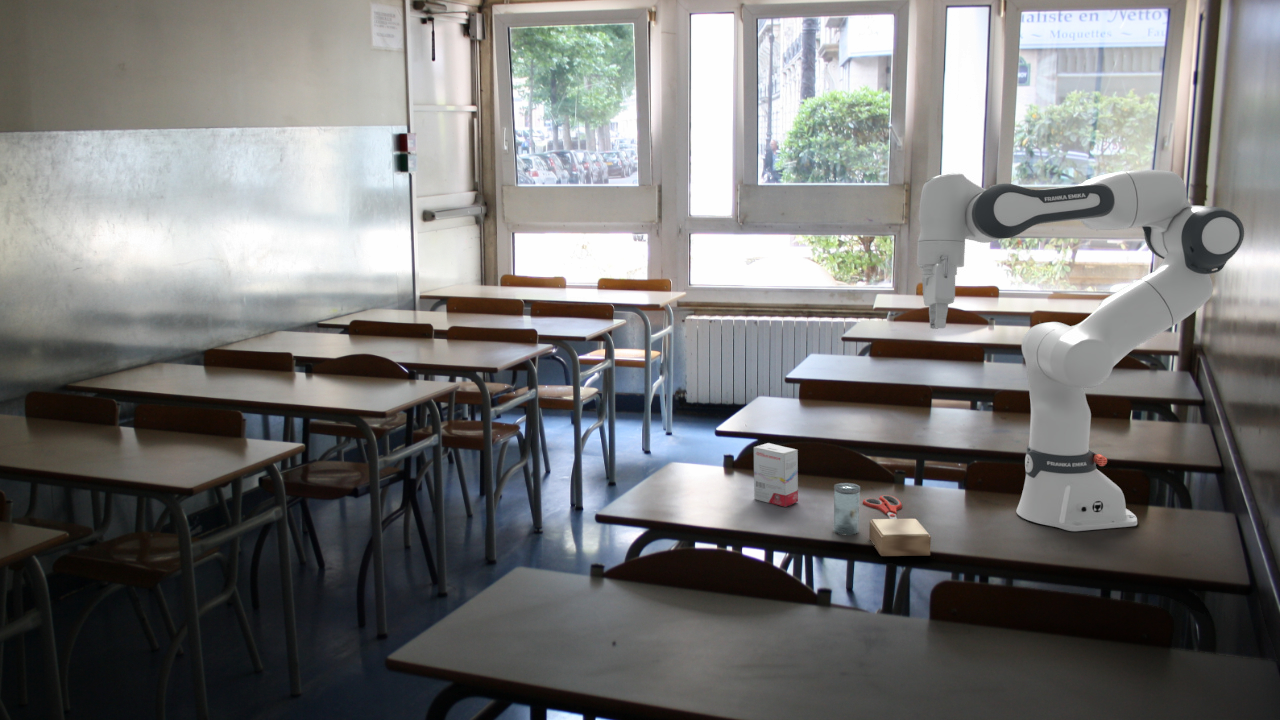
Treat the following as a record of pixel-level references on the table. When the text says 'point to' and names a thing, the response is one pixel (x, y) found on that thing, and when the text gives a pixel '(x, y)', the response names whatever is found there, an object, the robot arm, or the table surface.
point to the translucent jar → (846, 508)
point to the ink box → (776, 474)
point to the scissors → (884, 505)
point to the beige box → (899, 537)
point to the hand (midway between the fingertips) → (937, 328)
